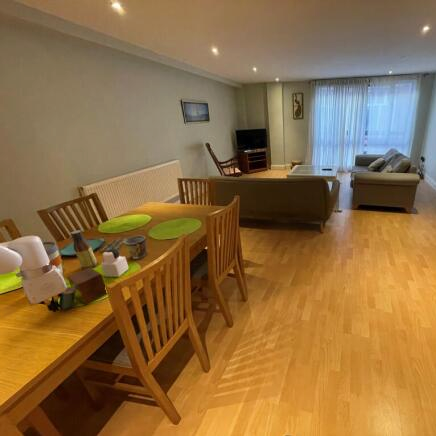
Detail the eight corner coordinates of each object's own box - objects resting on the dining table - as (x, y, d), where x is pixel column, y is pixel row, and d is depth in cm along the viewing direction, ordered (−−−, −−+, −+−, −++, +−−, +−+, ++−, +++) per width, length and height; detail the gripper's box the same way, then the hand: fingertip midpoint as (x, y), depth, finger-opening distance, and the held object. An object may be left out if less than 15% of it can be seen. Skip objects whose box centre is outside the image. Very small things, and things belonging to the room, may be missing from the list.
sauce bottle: (92, 261, 126) (80, 227, 119) (100, 264, 124) (88, 229, 116) (78, 268, 120) (64, 233, 113) (86, 271, 118) (72, 235, 111)
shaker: (67, 313, 94) (50, 302, 89) (62, 309, 96) (45, 298, 91) (86, 296, 99) (72, 285, 94) (81, 293, 101) (67, 282, 96)
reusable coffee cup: (24, 281, 111) (9, 253, 105) (53, 266, 122) (41, 240, 116) (47, 284, 109) (34, 255, 103) (74, 268, 120) (63, 242, 115)
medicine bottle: (115, 268, 121) (108, 247, 116) (129, 268, 120) (122, 247, 116) (104, 276, 114) (96, 255, 109) (119, 277, 114) (111, 255, 109)
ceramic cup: (126, 255, 132) (121, 239, 128) (146, 249, 138) (142, 233, 134) (132, 265, 123) (127, 248, 119) (153, 257, 130) (149, 241, 126)
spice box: (86, 304, 97) (77, 284, 93) (75, 296, 101) (66, 276, 98) (108, 293, 103) (101, 273, 99) (96, 285, 108) (89, 267, 104)
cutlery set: (75, 242, 146) (73, 239, 145) (129, 238, 151) (128, 235, 150) (51, 260, 128) (49, 256, 127) (113, 254, 133) (112, 250, 132)
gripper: (10, 284, 78) (32, 327, 85) (68, 262, 90) (83, 302, 97) (3, 277, 81) (24, 319, 88) (59, 257, 94) (74, 295, 100)
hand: (55, 310), depth 92 cm, fingers closed
